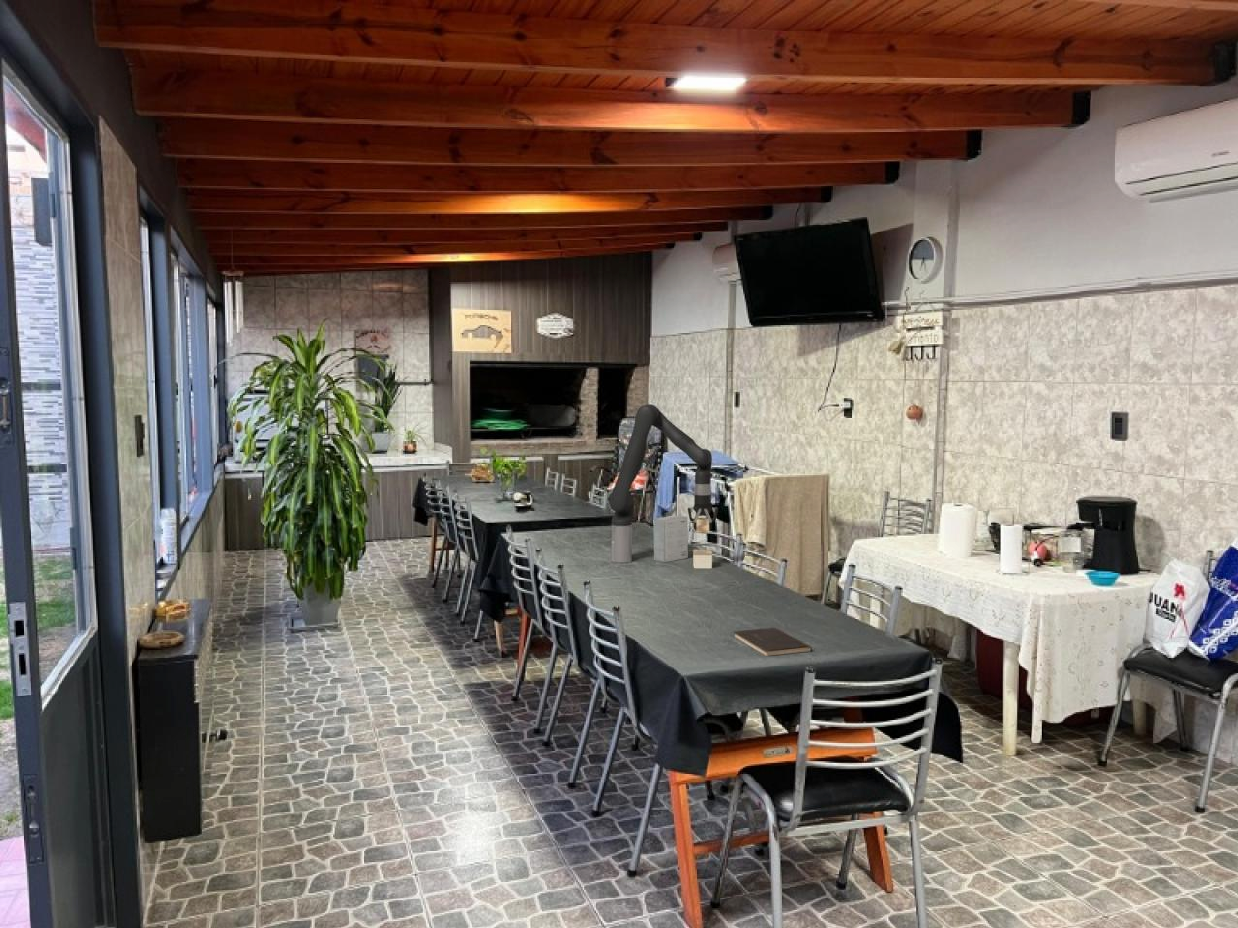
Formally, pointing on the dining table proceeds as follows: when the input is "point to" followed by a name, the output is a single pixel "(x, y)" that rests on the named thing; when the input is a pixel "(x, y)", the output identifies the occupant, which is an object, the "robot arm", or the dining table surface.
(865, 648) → the dining table surface
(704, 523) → the beech block
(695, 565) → the tea tin
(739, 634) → the hardcover book
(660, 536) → the hard drive box
